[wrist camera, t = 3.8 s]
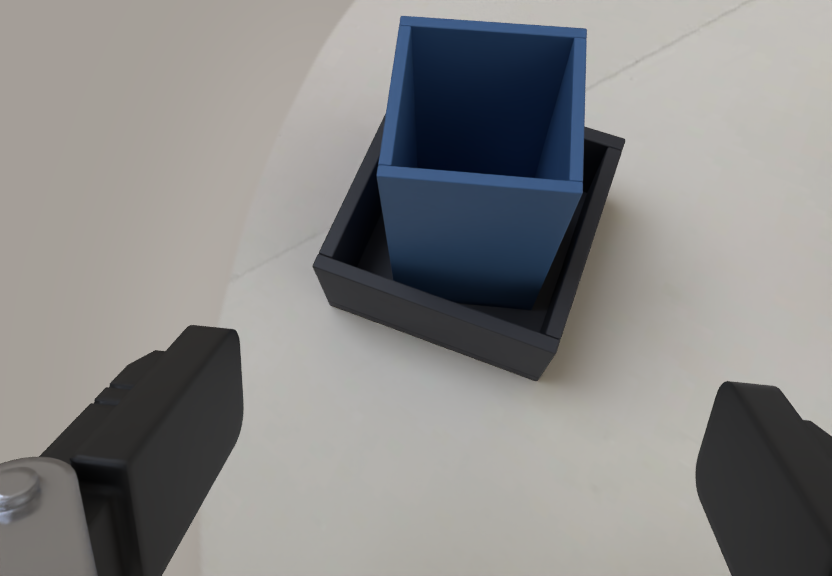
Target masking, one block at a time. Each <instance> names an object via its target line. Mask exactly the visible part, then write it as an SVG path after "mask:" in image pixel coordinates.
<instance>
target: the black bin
mask: <svg viewBox="0 0 832 576" xmlns="http://www.w3.org/2000/svg"><path fill="white" fill-rule="evenodd" d="M385 116H386V114H385ZM385 116H384V118H383V120H382V122H381V124H380V126H379V128H378V131H377V133H376V135H375V137H374V139H373V141H372V143H371V145H370V147H369V149H368V151H367V153H366V156H365V158H364V160H363V162H362V164H361V166H360V168H359V170H358V172H357V174H356V176H355V178H354V181H353V183H352V185H351V187H350V189H349V191H348V193H347V195H346V197H345V199H344V201H343V203H342V206H341V208H340V210H339V212H338V214H337V216H336V218H335V220H334V222H333V224H332V226H331V228H330V230H329V233H328V235H327V237H326V239H325V241H324V243H323V245H322V247H321V249H320V251H319V254H318V255H317V257H316V259H315V262H314V264H313V268H314V271H315V273H316V275H317V277H318V279H319V282H320V284H321V286H322V288H323V291H324V293H325V295H326V297H327V299H328V302H329V304H330V305H331V306H334V307H337V308H340V309H342V310H345V311H348V312H350V313H353V314H356V315H359V316H361V317H364V318H367V319H369V320H372V321H375V322H377V323H380V324H383V325H386V326H388V327H391V328H394V329H396V330H399V331H402V332H405V333H407V334H410V335H413V336H415V337H418V338H421V339H423V340H426V341H429V342H432V343H434V344H437V345H440V346H442V347H445V348H448V349H451V350H453V351H456V352H459V353H461V354H464V355H467V356H469V357H472V358H475V359H478V360H480V361H483V362H486V363H488V364H491V365H494V366H497V367H499V368H502V369H505V370H507V371H510V372H513V373H515V374H518V375H521V376H524V377H526V378H529V379H532V380H534V381H538V379H539V378H540V376H541V375H542V373H543V372H544V370H545V369H546V367H547V366H548V364H549V363H550V361H551V360H552V359H553V357H554V356H555V354H556V352H557V349H558V346H559V343H560V339H561V337H562V334H563V330H564V327H565V324H566V321H567V318H568V315H569V312H570V309H571V306H572V303H573V300H574V297H575V294H576V291H577V288H578V284H579V281H580V278H581V275H582V272H583V269H584V266H585V263H586V260H587V257H588V254H589V251H590V248H591V245H592V242H593V239H594V235H595V232H596V229H597V226H598V223H599V220H600V217H601V214H602V211H603V208H604V205H605V202H606V199H607V196H608V193H609V189H610V186H611V183H612V180H613V177H614V174H615V171H616V168H617V165H618V162H619V159H620V156H621V152H622V150H623V147H624V144H625V139H623V138H620V137H617V136H614V135H610V134H607V133H604V132H600V131H597V130H594V129H591V128H587V127H584V158H583V182H582V183H583V193H582V196H581V198H580V200H579V202H578V205H577V207H576V209H575V212H574V214H573V216H572V218H571V221H570V223H569V225H568V228H567V230H566V232H565V234H564V237H563V239H562V241H561V244H560V246H559V248H558V250H557V253H556V255H555V257H554V260H553V262H552V264H551V267H550V269H549V271H548V273H547V276H546V278H545V280H544V283H543V285H542V287H541V289H540V292H539V294H538V296H537V299H536V301H535V303H534V305H533V308H532V310H525V309H514V308H504V307H494V306H483V305H473V304H463V303H455V302H452V301H450V300H447V299H444V298H441V297H438V296H436V295H433V294H430V293H427V292H424V291H422V290H419V289H416V288H413V287H410V286H408V285H405V284H402V283H399V282H396V281H394V280H393V275H392V269H391V263H390V256H389V250H388V244H387V238H386V231H385V225H384V219H383V213H382V206H381V200H380V194H379V188H378V181H377V169H378V166H379V165H378V163H379V156H380V149H381V143H382V136H383V130H384V123H385Z"/></svg>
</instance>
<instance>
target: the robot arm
mask: <svg viewBox="0 0 832 576" xmlns="http://www.w3.org/2000/svg"><path fill="white" fill-rule="evenodd" d="M243 410H244V407H243V388H242V372H241V355H240V341H239V336H238V333H237V332H236V330H234V329H226V328H216V327H206V326H197V325H190V326H188V327H187V328H186V329H185V330H184V331H183V332H182V333H181V335H180V336H179V337H178V338H177V339H176V340H175V341H174V342H173V343H172V345H171V346H170V347H169V348H168V349H167V350H166V351H157V350H155V351H153V352H151V353H149V354H147V355H146V356H144V357H142V358H140V359H138V360H136V361H134V362H133V363H131V364H129V365H127V366H126V368H124V370H123V371H122V372H121V373H120V374H119V375H118V376H117V377H116V378H115V379H114V380H113V381H112V382H111V383H110V387H109V388H105V389H104V390H103V391H102V392H101V393H100V394H99V395H98V396H97V397H96V398H95V402H94V404H92V403H91V404H90V405H89V406H88V407H87V408H86V409H85V410H84V411H83V412H82V413H81V414H80V415H79V416H78V417H77V418H76V419H75V420H74V421H73V422H72V423H71V424H70V425H69V427H67V428H66V429H65V430H64V431H63V432H62V433H61V435H60V436H59V437H58V438H57V439H56V440H55V441H54V442H53V443H52V444H51V445H50V446H49V447H48V448H47V449H46V450H45V451H44V452H43V453H42V454H41V455H40V456H39V457H28V458H20V459H16V460H11V461H8V462H4V463H1V464H0V576H162V574H163V572H164V571H165V569H166V567H167V565H168V563H169V562H170V560H171V558H172V556H173V555H174V553H175V551H176V549H177V547H178V546H179V544H180V542H181V540H182V538H183V537H184V535H185V533H186V531H187V530H188V528H189V526H190V524H191V523H192V520H193V519H194V517H195V515H196V514H197V512H198V510H199V508H200V506H201V505H202V503H203V501H204V499H205V498H206V496H207V494H208V492H209V490H210V489H211V487H212V485H213V483H214V481H215V480H216V478H217V476H218V474H219V473H220V471H221V469H222V467H223V465H224V464H225V462H226V460H227V458H228V456H229V455H230V453H231V451H232V449H233V448H234V446H235V444H236V442H237V439H238V437H239V434H240V430H241V426H242V420H243ZM696 487H697V492H698V496H699V499H700V501H701V504H702V506H703V509H704V511H705V513H706V516H707V518H708V521H709V523H710V525H711V528H712V530H713V532H714V535H715V537H716V540H717V542H718V544H719V547H720V549H721V552H722V554H723V556H724V559H725V561H726V564H727V566H728V568H729V571H730V573H731V575H732V576H832V436H830V435H829V434H828V433H826V432H825V431H824V430H822V429H821V428H820V427H818V426H817V425H816V424H814V423H813V422H811V421H807V420H802V418H801V417H800V416H799V414H798V413H797V412H796V410H795V409H794V408H793V406H792V405H791V403H790V402H789V401H788V399H787V398H786V397H785V395H784V394H783V393H782V391H781V390H780V389H779V388H777V387H775V386H769V385H759V384H749V383H740V382H730V381H727V382H724V383H723V384H722V385H721V386H720V388H719V390H718V392H717V395H716V398H715V401H714V404H713V408H712V411H711V414H710V418H709V421H708V424H707V428H706V431H705V434H704V438H703V441H702V444H701V448H700V451H699V454H698V458H697V463H696Z"/></svg>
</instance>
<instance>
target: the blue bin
mask: <svg viewBox="0 0 832 576" xmlns="http://www.w3.org/2000/svg"><path fill="white" fill-rule="evenodd" d="M586 38H587V29H584V28H569V27H555V26H541V25H526V24H512V23H497V22H483V21H469V20H454V19H440V18H425V17H411V16H401V18H400V24H399V31H398V37H397V44H396V50H395V57H394V64H393V70H392V77H391V83H390V90H389V97H388V103H387V110H386V116H385V123H384V130H383V136H382V143H381V149H380V156H379V163H378V165H379V166H378V169H377V181H378V188H379V194H380V200H381V206H382V213H383V219H384V225H385V231H386V238H387V244H388V250H389V256H390V263H391V269H392V275H393V280H394V281H396V282H399V283H402V284H405V285H408V286H410V287H413V288H416V289H419V290H422V291H424V292H427V293H430V294H433V295H436V296H438V297H441V298H444V299H447V300H450V301H452V302H455V303H463V304H473V305H483V306H494V307H504V308H514V309H525V310H532V308H533V305H534V303H535V301H536V299H537V296H538V294H539V292H540V289H541V287H542V285H543V283H544V280H545V278H546V276H547V273H548V271H549V269H550V267H551V264H552V262H553V260H554V257H555V255H556V253H557V250H558V248H559V246H560V244H561V241H562V239H563V237H564V234H565V232H566V230H567V228H568V225H569V223H570V221H571V218H572V216H573V214H574V212H575V209H576V207H577V205H578V202H579V200H580V198H581V196H582V193H583V183H582V182H583V158H584V119H585V80H586Z"/></svg>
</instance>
